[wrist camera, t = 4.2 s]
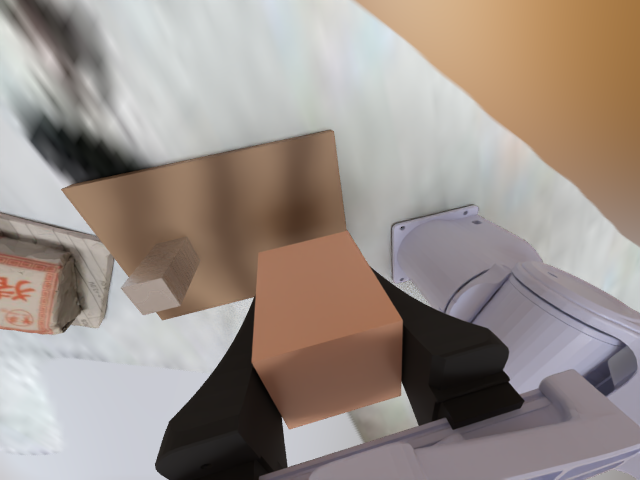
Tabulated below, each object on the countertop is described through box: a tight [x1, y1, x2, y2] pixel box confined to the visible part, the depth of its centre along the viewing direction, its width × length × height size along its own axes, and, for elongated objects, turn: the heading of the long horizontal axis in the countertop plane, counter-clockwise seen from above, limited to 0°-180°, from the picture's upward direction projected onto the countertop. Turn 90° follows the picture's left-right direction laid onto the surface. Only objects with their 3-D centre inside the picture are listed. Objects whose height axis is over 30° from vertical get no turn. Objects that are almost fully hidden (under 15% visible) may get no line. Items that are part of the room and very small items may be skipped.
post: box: [121, 237, 200, 315], centre depth 18 cm, size 3×3×6 cm
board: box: [61, 130, 347, 320], centre depth 22 cm, size 20×14×1 cm
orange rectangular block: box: [252, 231, 403, 429], centre depth 12 cm, size 5×5×7 cm
